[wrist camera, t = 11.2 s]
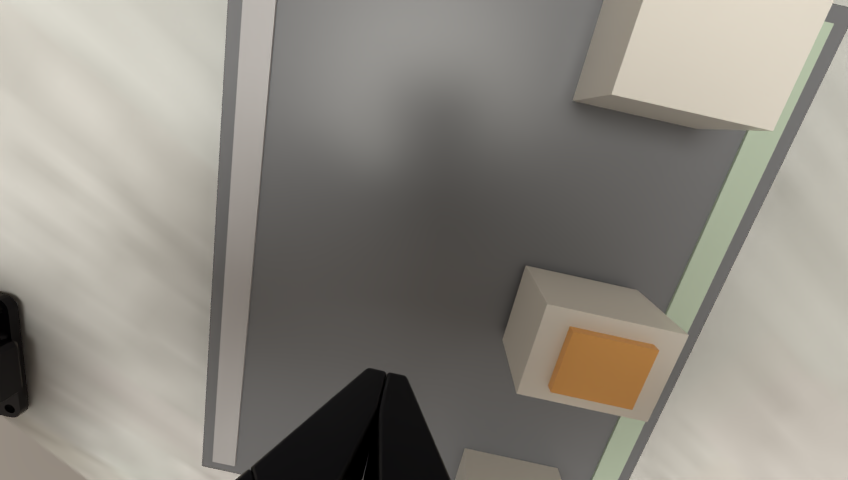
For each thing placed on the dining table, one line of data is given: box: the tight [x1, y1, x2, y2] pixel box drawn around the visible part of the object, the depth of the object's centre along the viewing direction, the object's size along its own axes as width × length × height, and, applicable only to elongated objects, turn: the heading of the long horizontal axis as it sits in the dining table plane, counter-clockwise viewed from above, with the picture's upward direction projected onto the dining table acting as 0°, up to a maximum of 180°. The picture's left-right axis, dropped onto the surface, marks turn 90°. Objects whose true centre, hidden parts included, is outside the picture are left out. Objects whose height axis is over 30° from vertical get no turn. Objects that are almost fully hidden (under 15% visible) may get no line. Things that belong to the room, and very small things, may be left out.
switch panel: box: [202, 0, 848, 480], centre depth 14 cm, size 18×22×5 cm
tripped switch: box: [502, 266, 689, 422], centre depth 12 cm, size 4×3×3 cm
